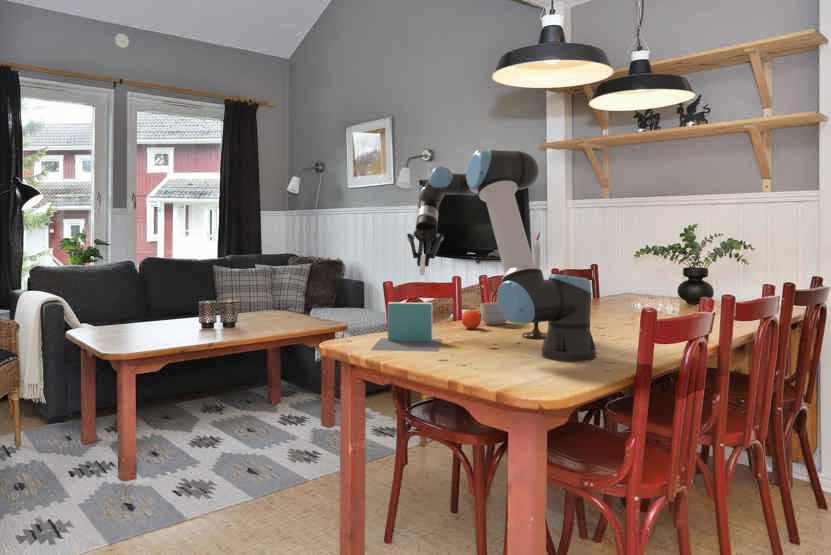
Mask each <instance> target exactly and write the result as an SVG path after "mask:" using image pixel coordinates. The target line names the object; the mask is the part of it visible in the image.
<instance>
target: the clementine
mask: <svg viewBox="0 0 831 555" xmlns="http://www.w3.org/2000/svg"><path fill="white" fill-rule="evenodd" d="M461 313H462V312H460V313H459V315H460V314H461ZM461 323H462V325H463V326H464V327H465V328H466V329H469V330H474V329H477V328H478V327H479V326H480V325H481V323H482V318H481V313H480V312H479V311H477V310H475V309H472V308H471V309H465V310H464V313H462V316H461Z"/></svg>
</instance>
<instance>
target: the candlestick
mask: <svg viewBox="0 0 831 555" xmlns="http://www.w3.org/2000/svg"><path fill="white" fill-rule="evenodd" d="M540 235H541V232H540V231H539V233H538V234H537V236H536V243H535V245H534V247H533V248H534V250H533V251H534V252H533V256H534V259H533V262H534V266H535V267H537V268H539V269H541V244H540V243H539V239H540ZM532 323H533V329H532V331H527V332H522V334H521V337H522V338H524V339H526V340H545V337H546V334H547V332H543V331H541V330H540V329H539V323H541V322H532Z"/></svg>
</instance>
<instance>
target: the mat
mask: <svg viewBox="0 0 831 555" xmlns="http://www.w3.org/2000/svg"><path fill="white" fill-rule="evenodd" d="M442 341H443V339H442V338H432V341H388V337H380V338H379V340H378V341H377V342H376V343H375V344H374V345H373V346H372V347H371V349H370V351H390V352H391V351H394V352H395V351H396V352H397V351H401V352H439V349H440V346H441V344H442Z"/></svg>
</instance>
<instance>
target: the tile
mask: <svg viewBox="0 0 831 555" xmlns="http://www.w3.org/2000/svg"><path fill="white" fill-rule="evenodd" d="M387 338H388V341H432V339H433V302H406V301H405V302H403V301H402V302H397V301H389V302H388V303H387Z"/></svg>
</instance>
